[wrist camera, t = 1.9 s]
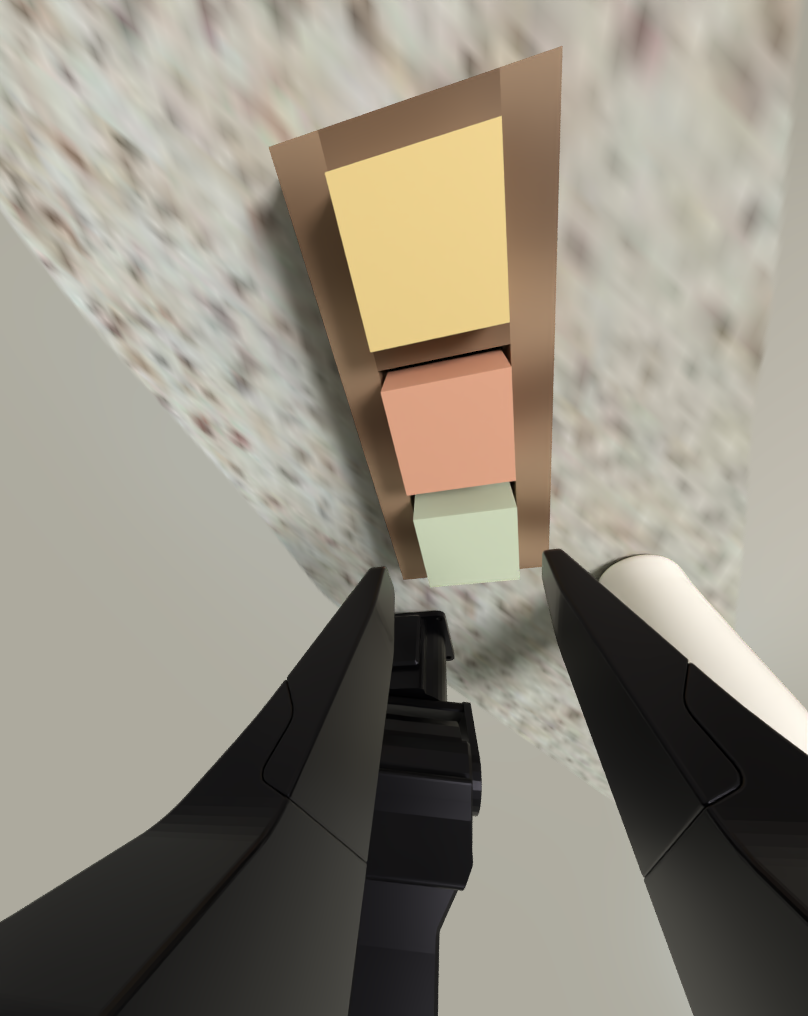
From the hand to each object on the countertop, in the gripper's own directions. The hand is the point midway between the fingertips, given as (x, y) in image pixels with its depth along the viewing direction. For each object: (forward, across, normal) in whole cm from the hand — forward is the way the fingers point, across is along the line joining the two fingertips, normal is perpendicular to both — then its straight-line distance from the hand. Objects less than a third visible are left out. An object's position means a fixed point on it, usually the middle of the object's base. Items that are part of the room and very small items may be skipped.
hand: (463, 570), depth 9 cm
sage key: (+10, 0, +7) cm, 12 cm away
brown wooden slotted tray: (+12, 0, 0) cm, 12 cm away
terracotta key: (+10, 0, 0) cm, 10 cm away
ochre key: (+10, 0, -6) cm, 12 cm away
